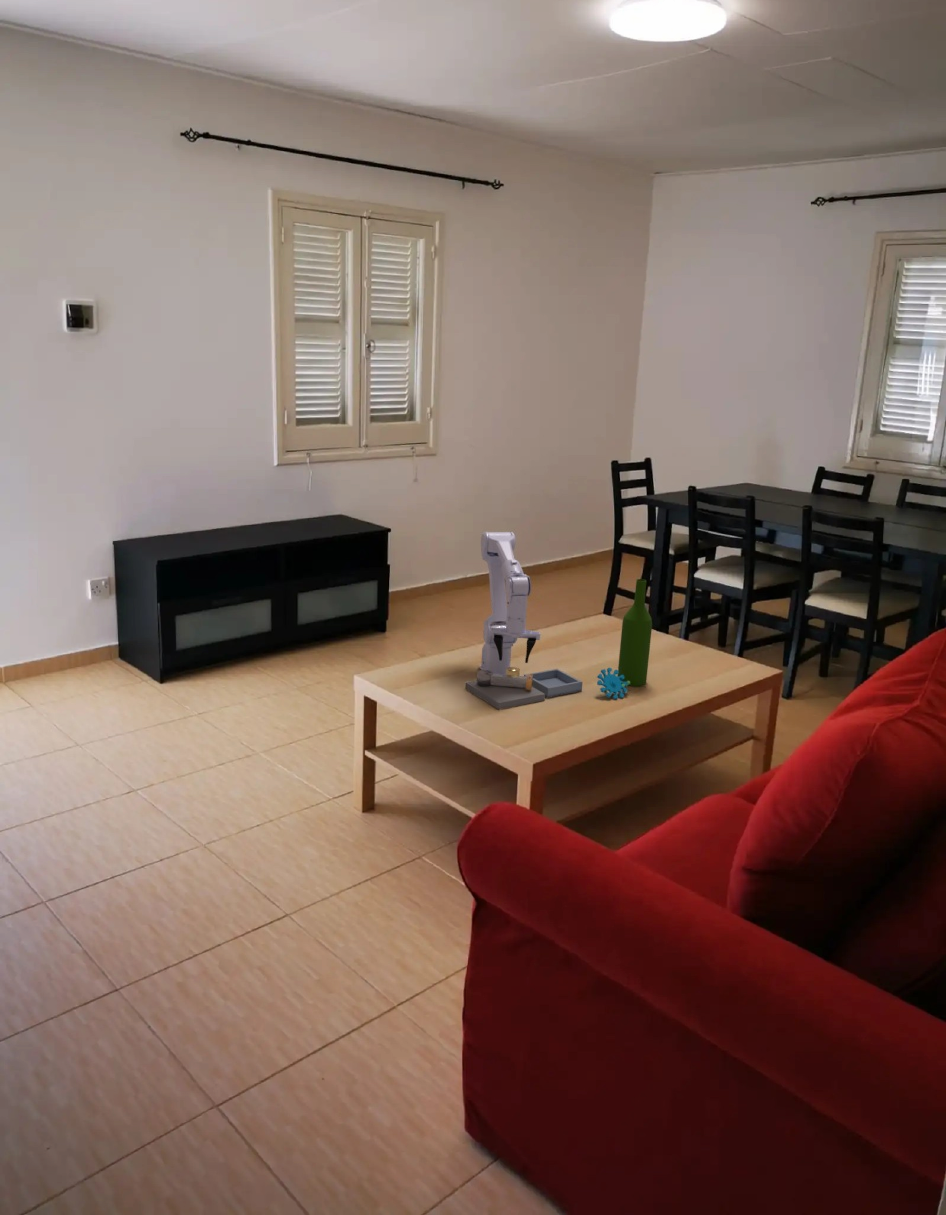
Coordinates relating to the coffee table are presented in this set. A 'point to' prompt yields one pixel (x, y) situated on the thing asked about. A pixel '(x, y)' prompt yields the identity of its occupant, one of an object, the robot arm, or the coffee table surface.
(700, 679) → the coffee table surface
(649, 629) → the wine bottle
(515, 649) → the coffee table surface
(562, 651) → the coffee table surface
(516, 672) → the pin
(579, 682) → the tray
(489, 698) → the crank plate
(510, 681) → the lever
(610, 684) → the blue spiky round piece
